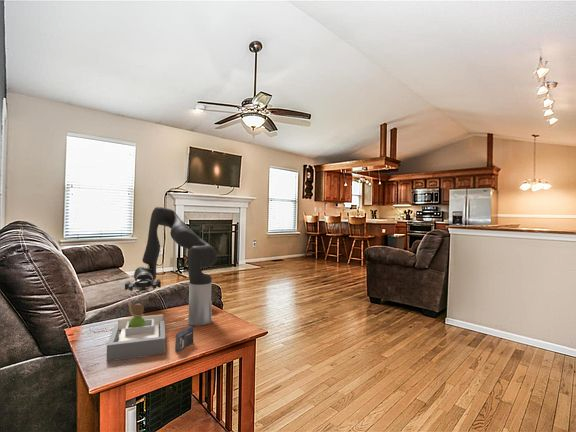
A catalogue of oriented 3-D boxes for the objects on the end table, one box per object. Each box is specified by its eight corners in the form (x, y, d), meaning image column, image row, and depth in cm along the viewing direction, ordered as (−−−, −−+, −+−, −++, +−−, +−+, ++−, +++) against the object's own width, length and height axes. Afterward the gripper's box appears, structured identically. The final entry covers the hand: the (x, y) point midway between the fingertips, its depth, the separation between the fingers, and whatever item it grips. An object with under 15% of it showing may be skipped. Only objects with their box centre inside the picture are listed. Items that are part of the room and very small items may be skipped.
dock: (163, 333, 120) (164, 321, 120) (164, 353, 103) (165, 338, 103) (114, 339, 113) (114, 326, 113) (106, 361, 97) (106, 345, 97)
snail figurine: (131, 327, 122) (132, 297, 122) (147, 328, 121) (148, 298, 121) (123, 332, 116) (124, 301, 116) (140, 333, 116) (141, 301, 116)
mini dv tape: (179, 352, 104) (179, 334, 104) (175, 351, 105) (175, 334, 105) (193, 343, 112) (193, 326, 112) (189, 342, 113) (190, 326, 113)
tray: (162, 323, 130) (163, 314, 130) (163, 339, 114) (163, 328, 114) (118, 328, 123) (118, 318, 123) (112, 345, 107) (112, 334, 107)
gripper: (127, 273, 142) (123, 279, 127) (160, 271, 147) (161, 277, 132) (126, 289, 141) (123, 298, 127) (160, 287, 147) (160, 295, 132)
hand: (142, 287), depth 129 cm, fingers open, 8 cm apart
